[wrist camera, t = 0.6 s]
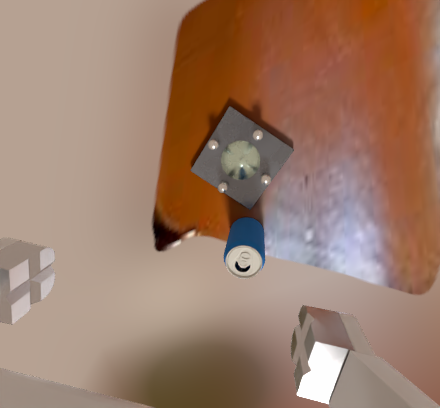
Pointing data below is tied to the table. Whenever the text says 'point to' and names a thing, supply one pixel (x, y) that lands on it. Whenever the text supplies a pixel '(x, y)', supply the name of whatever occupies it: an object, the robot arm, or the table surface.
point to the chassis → (241, 158)
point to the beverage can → (245, 248)
